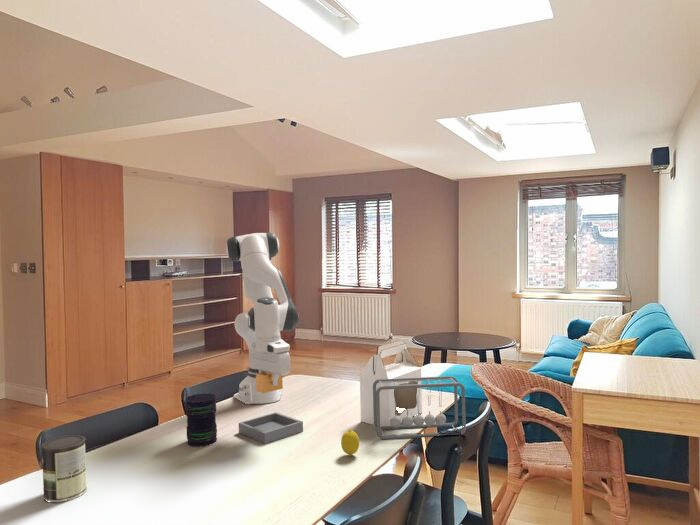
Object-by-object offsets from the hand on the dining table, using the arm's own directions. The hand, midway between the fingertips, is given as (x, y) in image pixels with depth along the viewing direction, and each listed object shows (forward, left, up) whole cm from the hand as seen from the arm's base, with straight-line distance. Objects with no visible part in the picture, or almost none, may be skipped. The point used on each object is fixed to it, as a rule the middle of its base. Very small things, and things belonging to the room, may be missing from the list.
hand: (269, 383), depth 181 cm
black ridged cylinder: (-10, -21, -17) cm, 29 cm away
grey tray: (0, 0, -17) cm, 17 cm away
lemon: (+36, +4, -17) cm, 40 cm away
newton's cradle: (+39, +34, -17) cm, 55 cm away
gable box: (+21, +40, -17) cm, 49 cm away
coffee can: (-2, -65, -17) cm, 67 cm away
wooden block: (0, 0, -2) cm, 2 cm away
